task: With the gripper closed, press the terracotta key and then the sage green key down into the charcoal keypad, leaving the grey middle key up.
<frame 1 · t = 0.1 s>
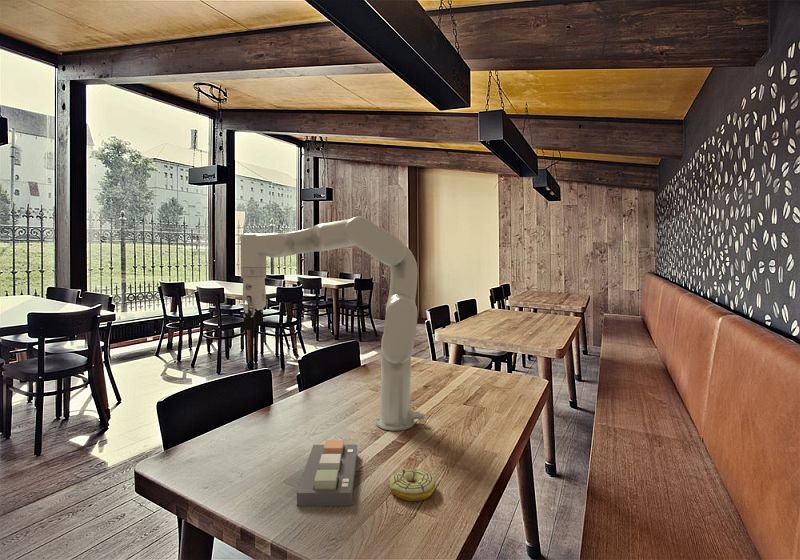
hand: (254, 327, 142), 31 cm above the table, tool pointing down, fingers open, 9 cm apart
terracotta key: (333, 449, 119), point 4 cm above the table, slide at 0.0 cm
sage key: (326, 481, 104), point 4 cm above the table, slide at 0.0 cm
keypad: (330, 477, 112), on the table
decorated donut: (412, 492, 107), on the table
grey key: (330, 464, 112), point 4 cm above the table, slide at 0.0 cm
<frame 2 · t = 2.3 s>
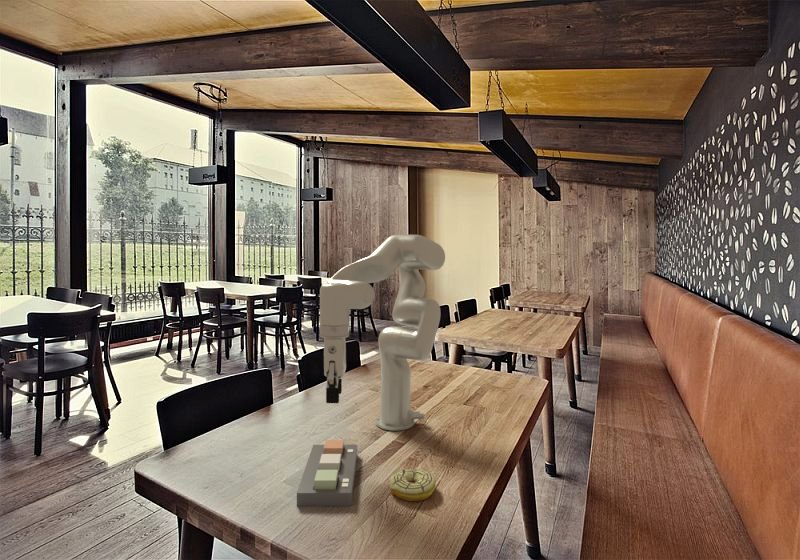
hand: (334, 397, 118), 18 cm above the table, tool pointing down, fingers open, 6 cm apart
nothing on the table moved.
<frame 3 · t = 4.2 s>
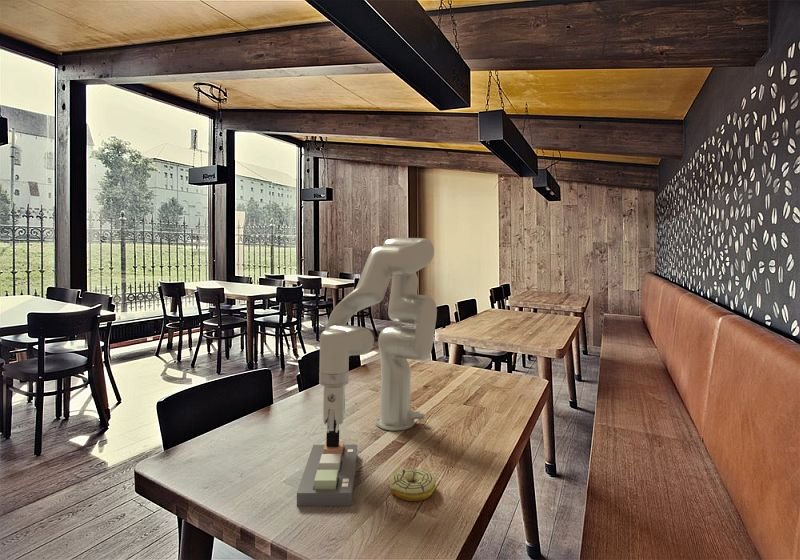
hand: (332, 445, 119), 5 cm above the table, tool pointing down, fingers closed
terracotta key: (333, 450, 119), point 3 cm above the table, slide at 0.3 cm, touching gripper
everything else where it was.
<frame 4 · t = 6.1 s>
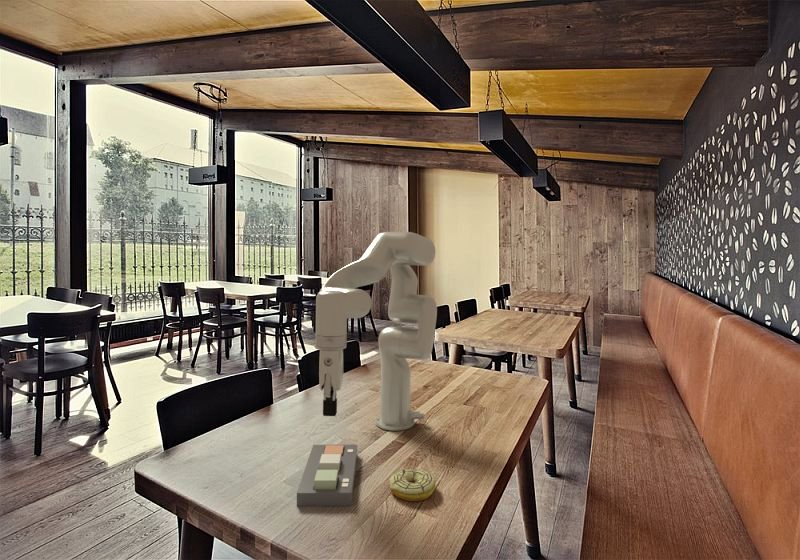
hand: (329, 414, 111), 16 cm above the table, tool pointing down, fingers closed
terracotta key: (333, 454, 120), point 2 cm above the table, slide at 1.5 cm
everything else where it was.
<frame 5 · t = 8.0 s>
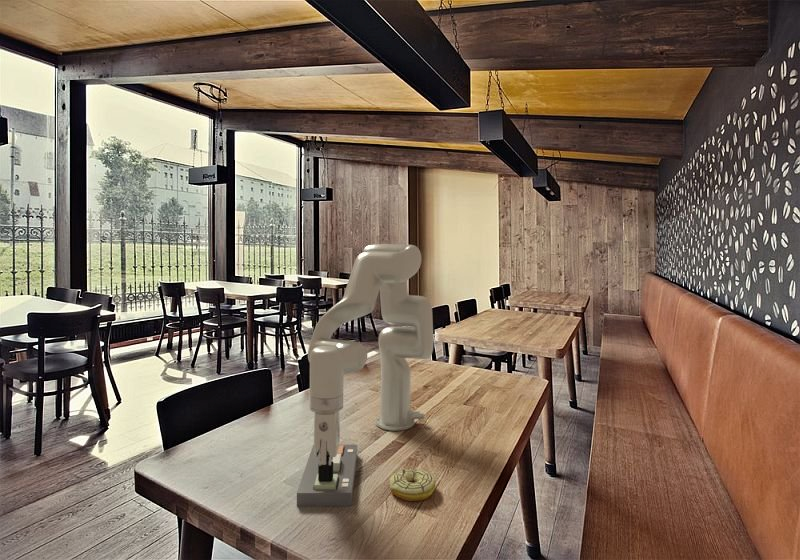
hand: (325, 479, 103), 4 cm above the table, tool pointing down, fingers closed
sage key: (326, 485, 104), point 2 cm above the table, slide at 1.0 cm, touching gripper
everything else where it was.
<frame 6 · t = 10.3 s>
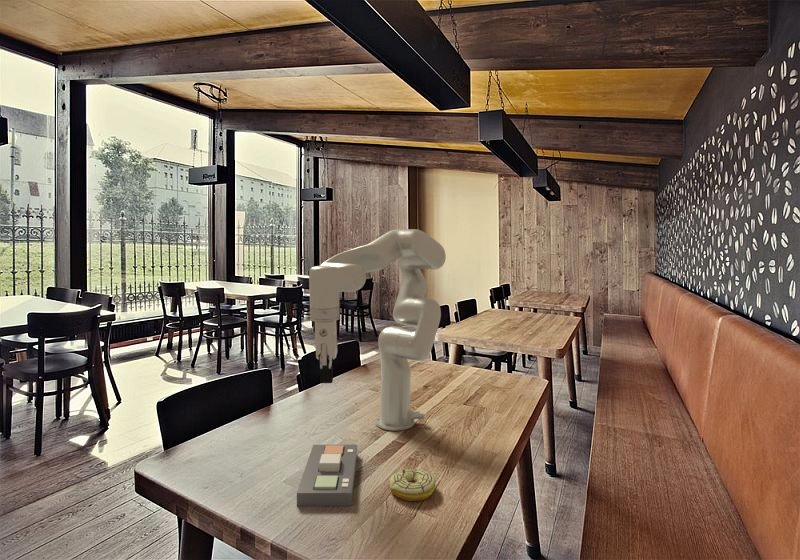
hand: (326, 382, 119), 21 cm above the table, tool pointing down, fingers closed
sage key: (326, 487, 104), point 2 cm above the table, slide at 1.5 cm
everything else where it was.
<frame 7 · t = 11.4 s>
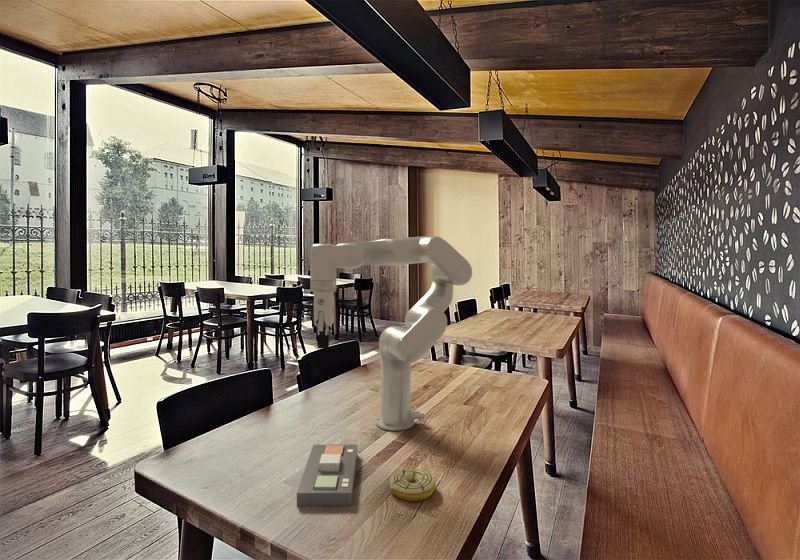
hand: (323, 347, 133), 27 cm above the table, tool pointing down, fingers closed
nothing on the table moved.
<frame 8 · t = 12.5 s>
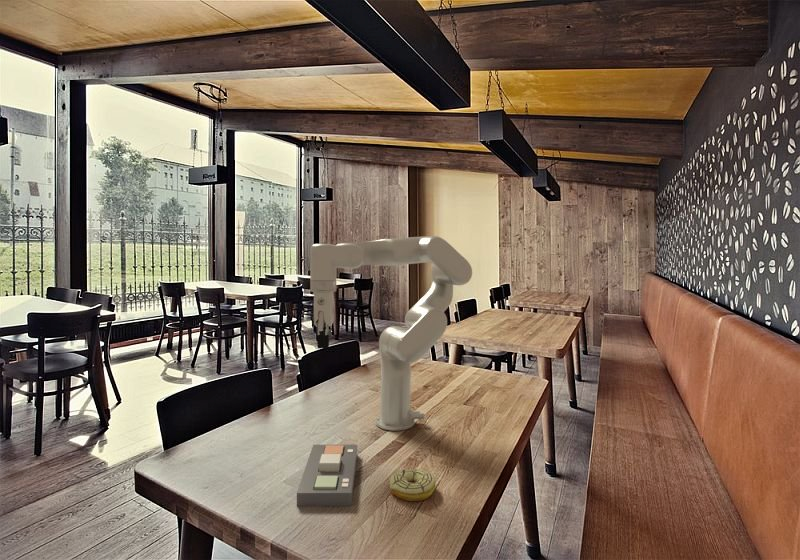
hand: (323, 347, 133), 27 cm above the table, tool pointing down, fingers closed
nothing on the table moved.
at the end: terracotta key slide at 1.5 cm; sage key slide at 1.5 cm; grey key slide at 0.0 cm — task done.
